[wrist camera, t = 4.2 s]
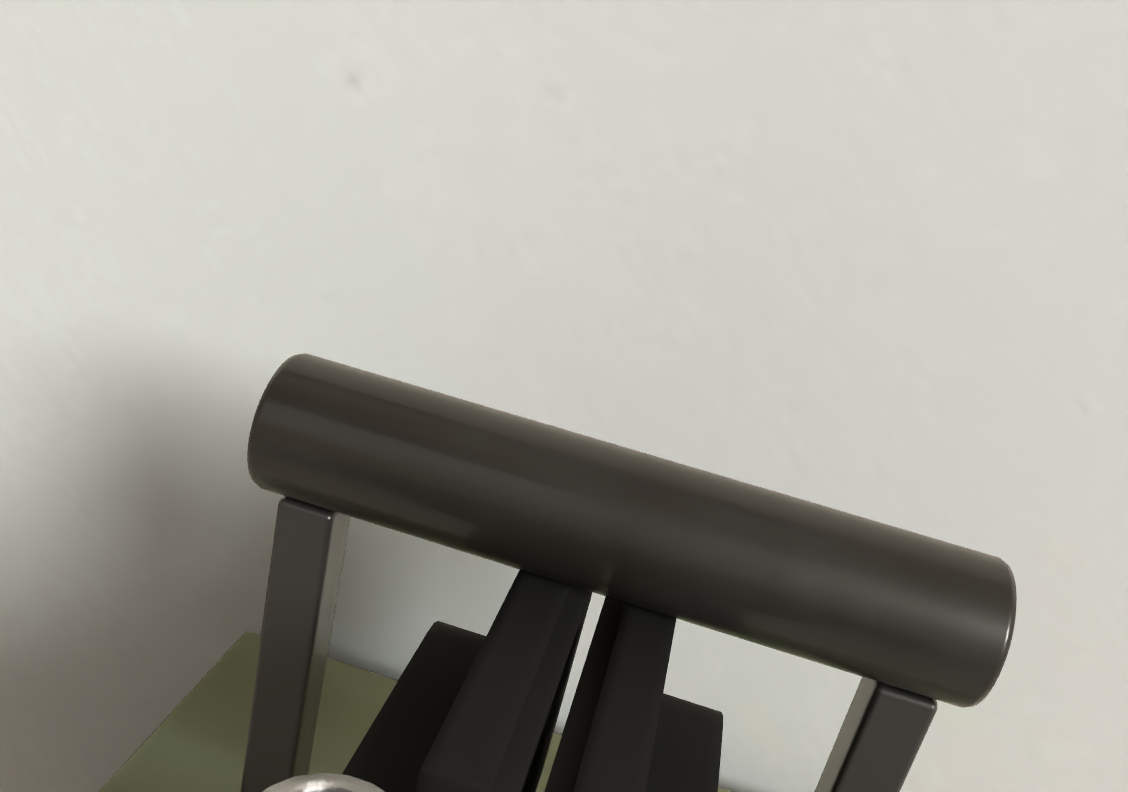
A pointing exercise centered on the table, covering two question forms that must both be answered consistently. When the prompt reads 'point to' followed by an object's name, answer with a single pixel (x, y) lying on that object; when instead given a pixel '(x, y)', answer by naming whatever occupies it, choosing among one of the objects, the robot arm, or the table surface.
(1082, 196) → the table surface
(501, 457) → the drawer
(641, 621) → the robot arm
